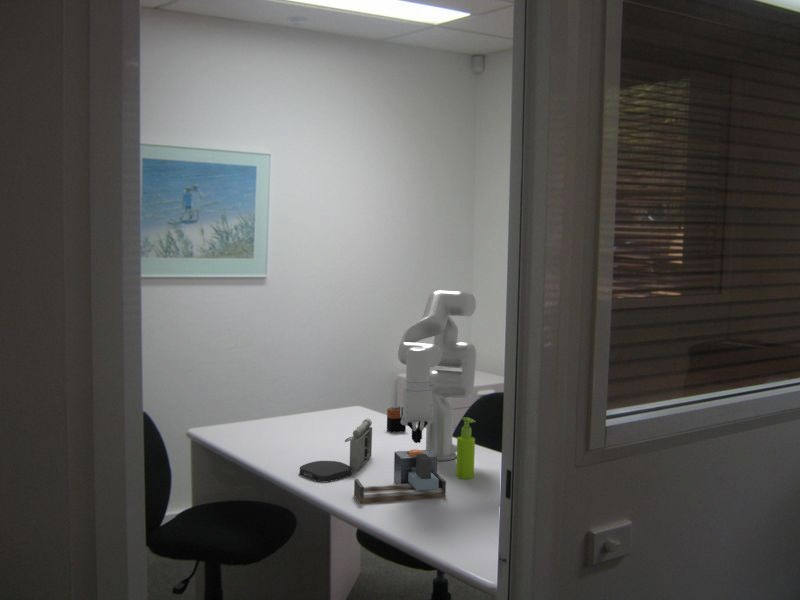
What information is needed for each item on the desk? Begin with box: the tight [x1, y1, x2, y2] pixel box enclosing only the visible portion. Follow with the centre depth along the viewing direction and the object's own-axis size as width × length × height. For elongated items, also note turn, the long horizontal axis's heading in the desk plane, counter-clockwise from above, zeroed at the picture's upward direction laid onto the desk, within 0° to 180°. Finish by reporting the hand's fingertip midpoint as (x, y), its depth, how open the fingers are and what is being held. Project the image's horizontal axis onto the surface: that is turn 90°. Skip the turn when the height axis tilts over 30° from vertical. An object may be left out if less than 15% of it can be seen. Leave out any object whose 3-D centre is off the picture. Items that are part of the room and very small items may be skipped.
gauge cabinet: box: [393, 449, 438, 485], centre depth 259 cm, size 12×8×10 cm
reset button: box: [408, 448, 423, 457], centre depth 259 cm, size 4×4×4 cm
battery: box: [386, 405, 407, 433], centre depth 328 cm, size 4×7×10 cm, turn 116°
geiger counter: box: [344, 418, 373, 472], centre depth 284 cm, size 14×6×25 cm
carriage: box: [408, 454, 439, 491], centre depth 250 cm, size 7×9×9 cm
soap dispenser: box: [455, 416, 476, 480], centre depth 268 cm, size 6×7×20 cm
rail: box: [353, 473, 447, 504], centre depth 248 cm, size 27×8×5 cm, turn 106°
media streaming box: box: [299, 460, 353, 483], centre depth 269 cm, size 15×15×3 cm
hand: (416, 441), depth 260 cm, fingers closed
